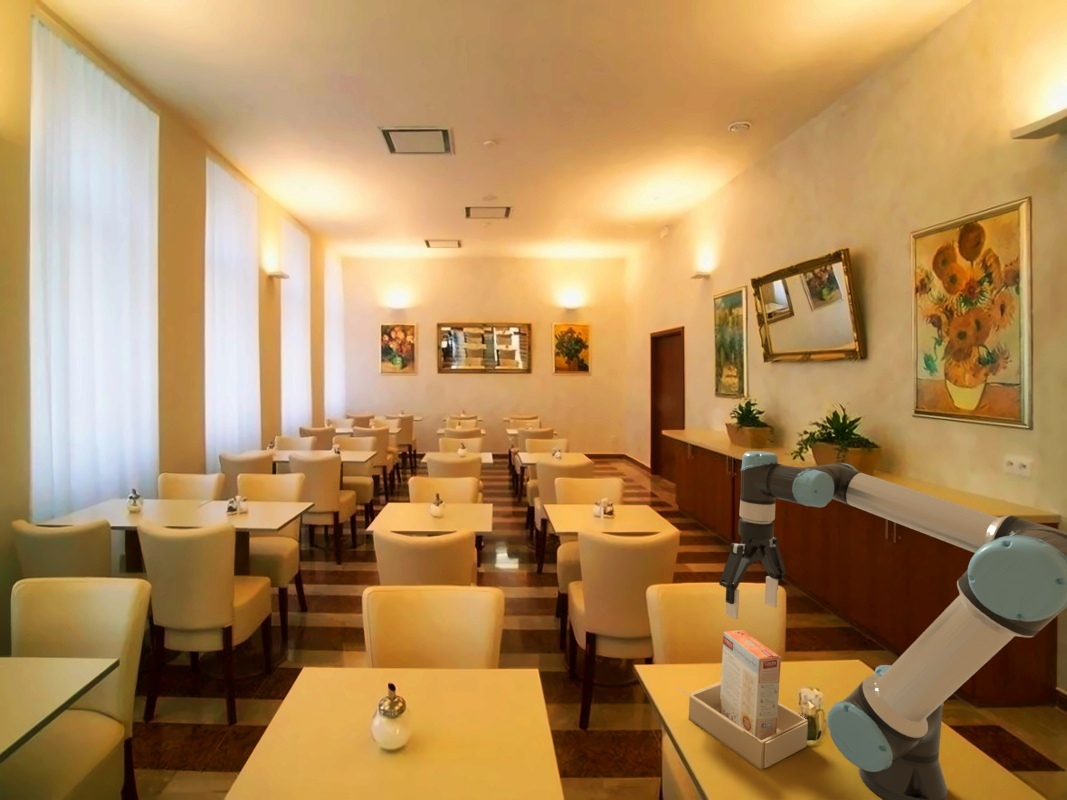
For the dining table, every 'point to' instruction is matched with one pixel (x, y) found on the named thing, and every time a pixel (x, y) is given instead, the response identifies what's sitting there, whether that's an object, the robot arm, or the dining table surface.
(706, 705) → the flap
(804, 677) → the dining table surface
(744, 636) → the cracker box
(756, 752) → the carton
